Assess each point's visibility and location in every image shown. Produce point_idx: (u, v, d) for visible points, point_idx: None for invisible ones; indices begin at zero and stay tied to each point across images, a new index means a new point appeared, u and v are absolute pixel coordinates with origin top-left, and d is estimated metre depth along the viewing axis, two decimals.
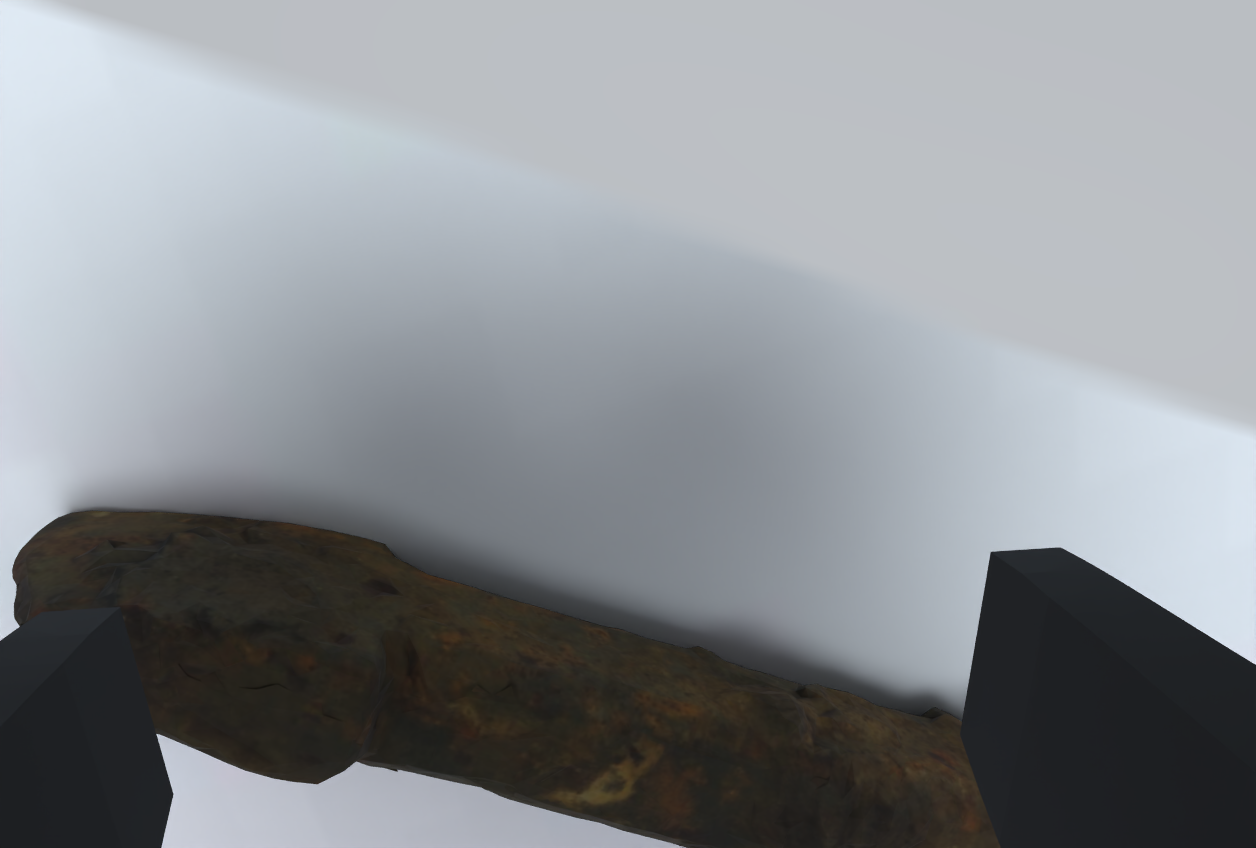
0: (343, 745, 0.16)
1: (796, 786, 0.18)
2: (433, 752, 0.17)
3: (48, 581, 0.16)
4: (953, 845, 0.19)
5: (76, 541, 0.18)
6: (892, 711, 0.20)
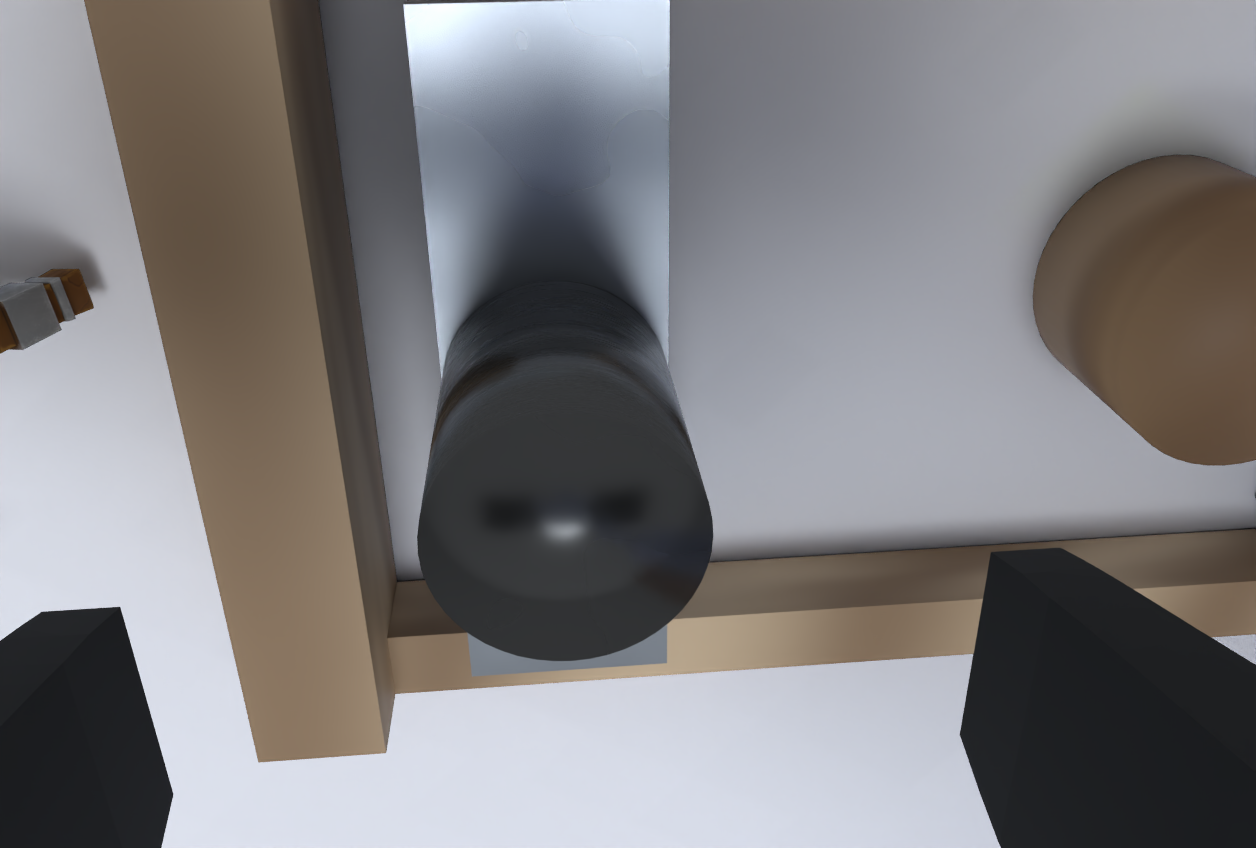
0: None
1: None
2: None
3: None
4: None
5: None
6: None
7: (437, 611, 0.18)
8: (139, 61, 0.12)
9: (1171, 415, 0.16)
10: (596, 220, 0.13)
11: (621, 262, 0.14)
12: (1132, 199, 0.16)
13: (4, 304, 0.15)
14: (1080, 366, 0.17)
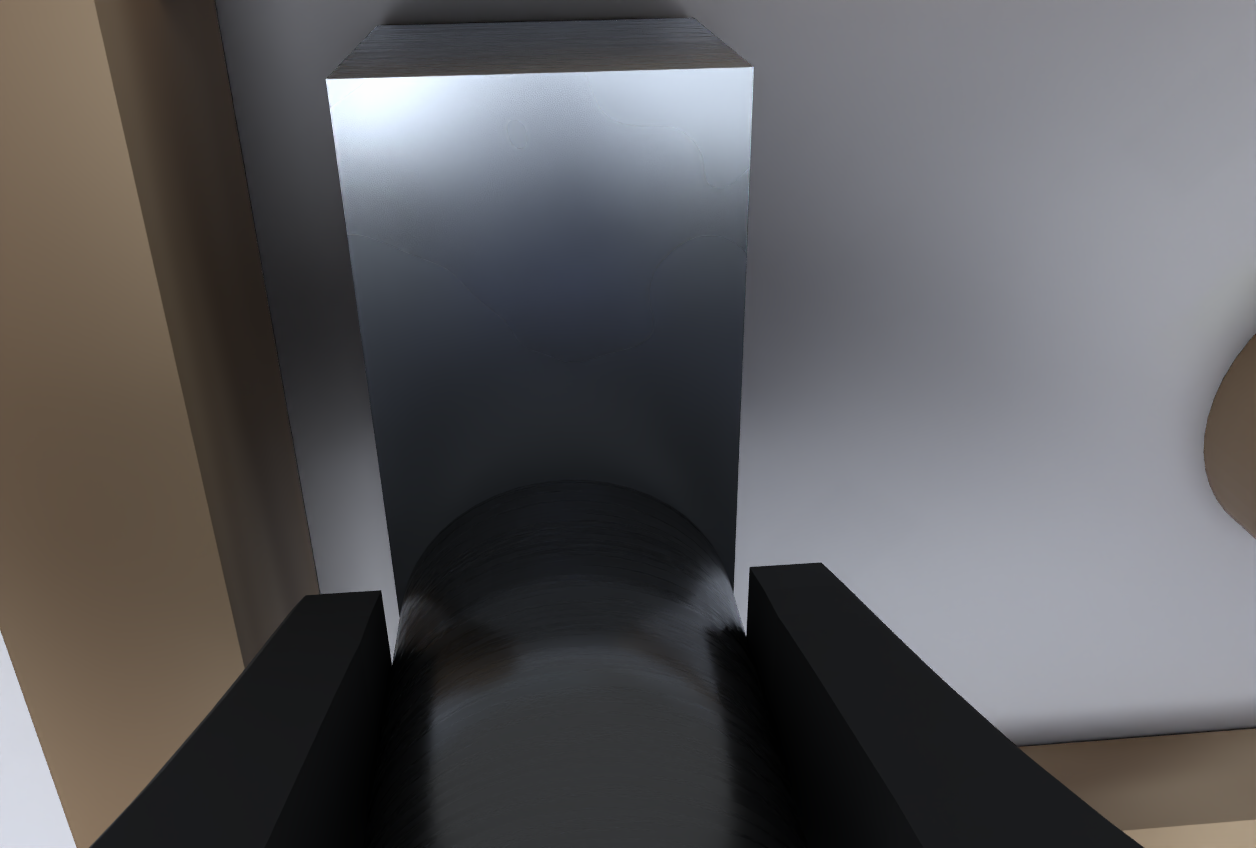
0: None
1: None
2: None
3: None
4: None
5: None
6: None
7: None
8: None
9: None
10: (631, 395, 0.09)
11: (667, 454, 0.09)
12: None
13: None
14: None
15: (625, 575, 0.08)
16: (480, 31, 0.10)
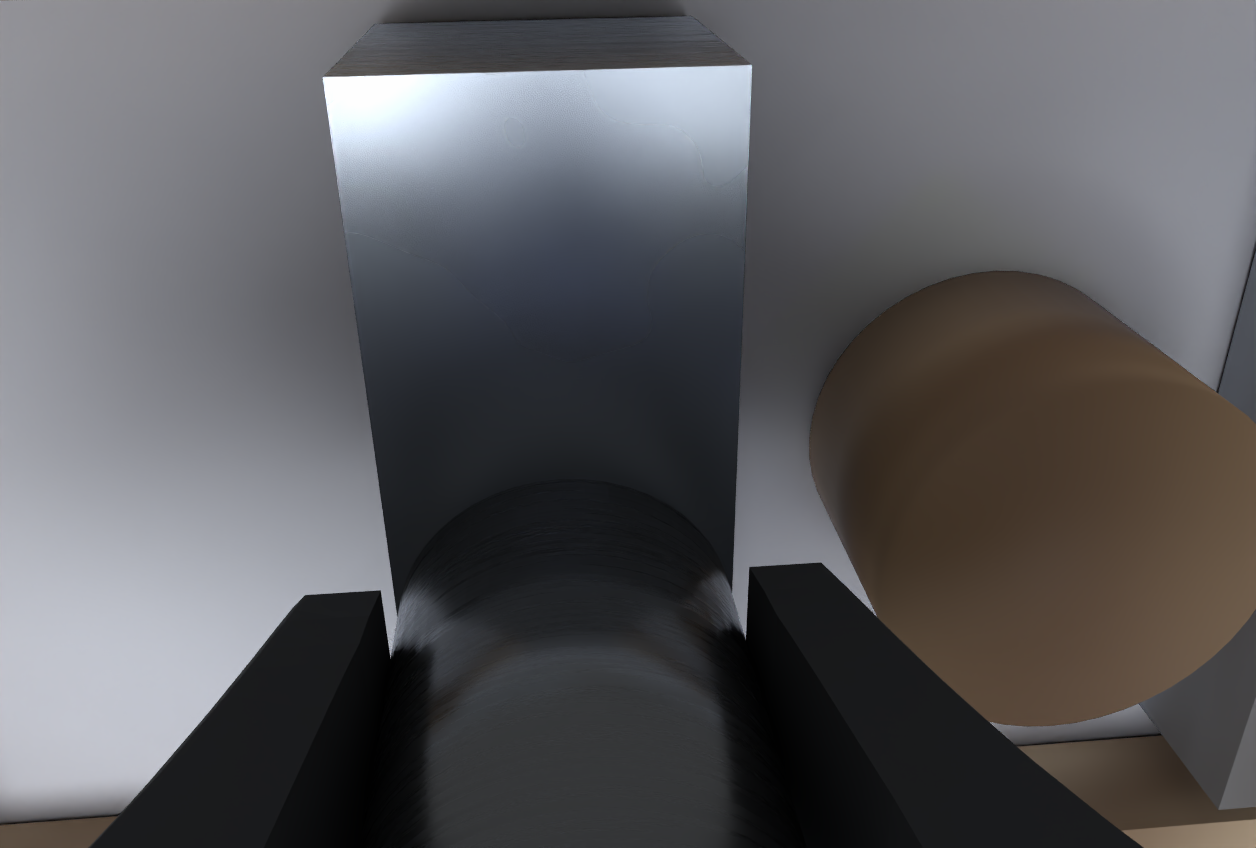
0: None
1: None
2: None
3: None
4: None
5: None
6: None
7: None
8: None
9: (967, 665, 0.11)
10: (629, 394, 0.09)
11: (666, 453, 0.09)
12: (919, 344, 0.11)
13: None
14: None
15: (623, 575, 0.08)
16: (478, 29, 0.10)
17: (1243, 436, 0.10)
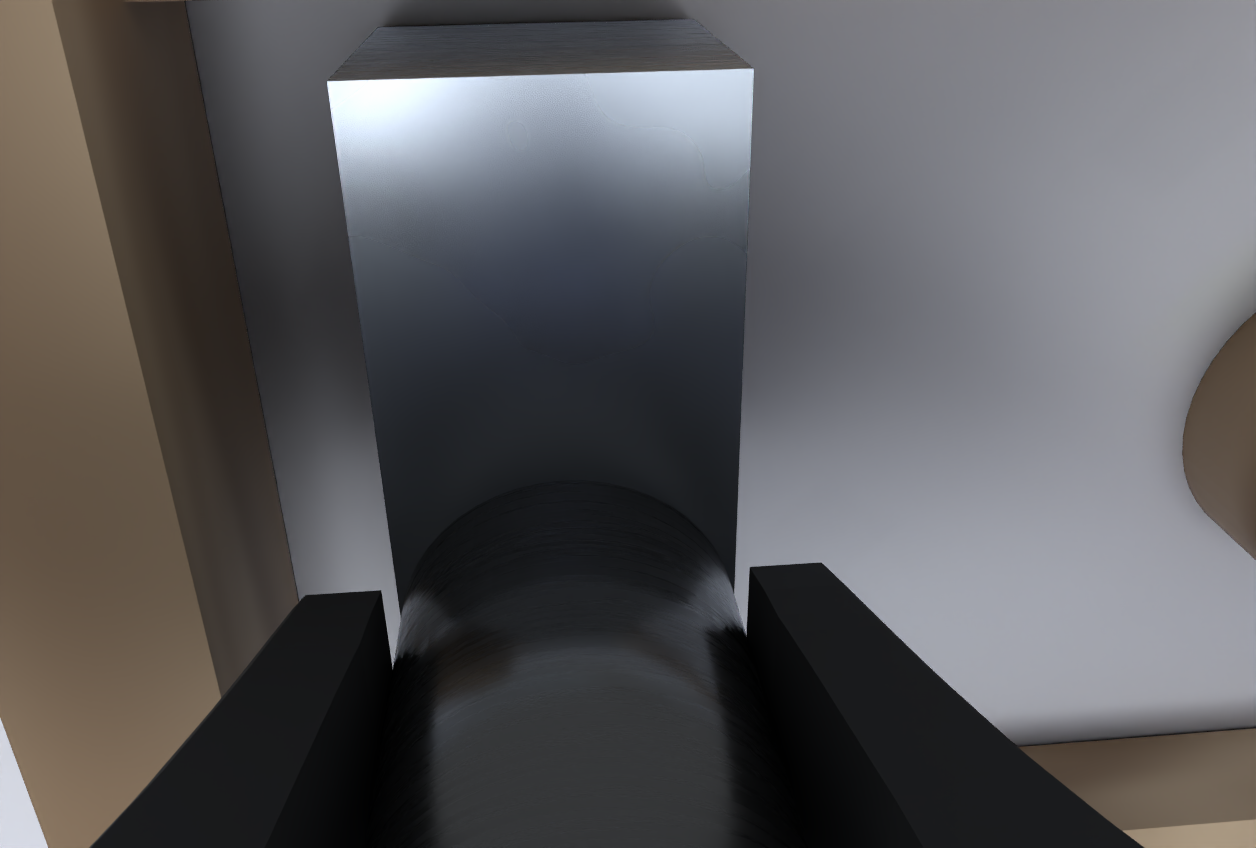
0: None
1: None
2: None
3: None
4: None
5: None
6: None
7: None
8: None
9: None
10: (631, 397, 0.09)
11: (668, 454, 0.09)
12: None
13: None
14: None
15: (626, 576, 0.08)
16: (481, 32, 0.10)
17: None
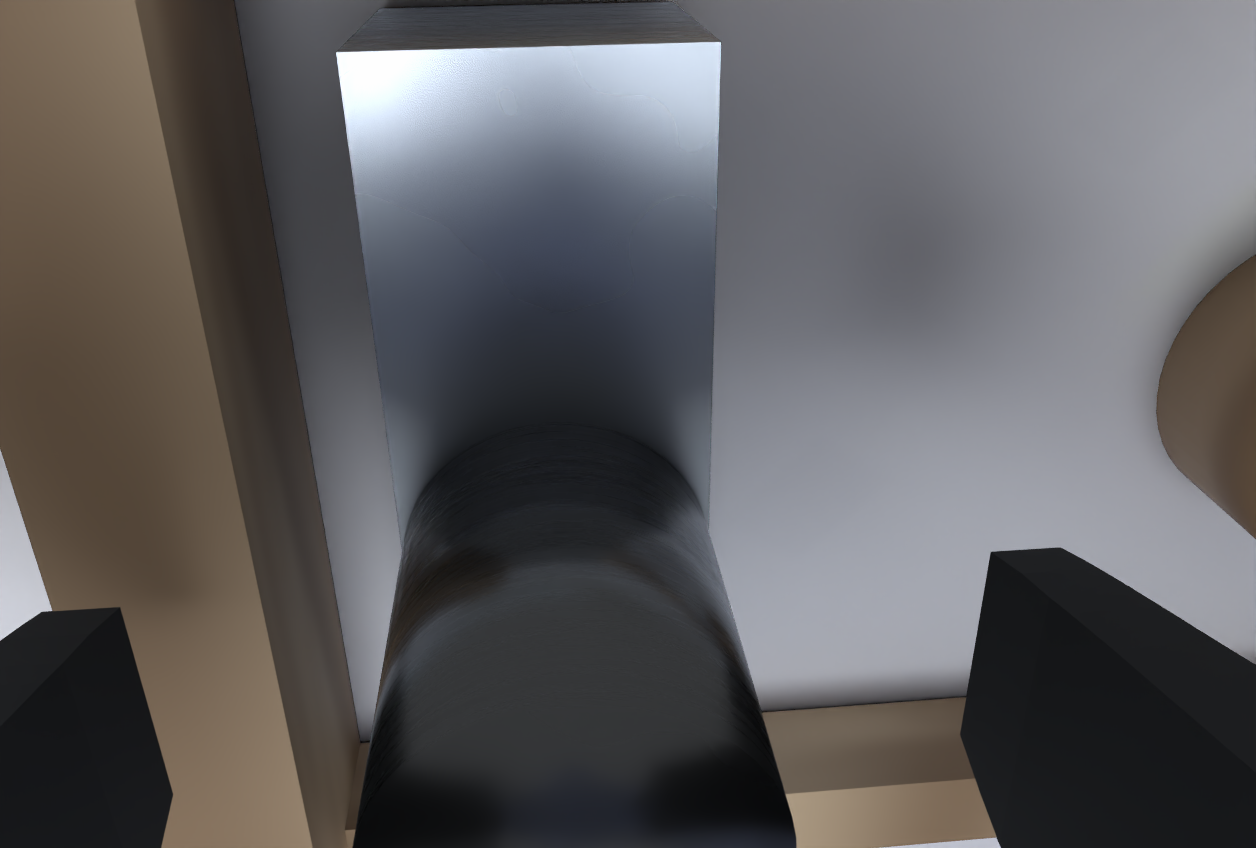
0: None
1: None
2: None
3: None
4: None
5: None
6: None
7: None
8: None
9: None
10: (613, 343, 0.10)
11: (647, 397, 0.10)
12: None
13: None
14: (1229, 496, 0.13)
15: (606, 501, 0.09)
16: (475, 13, 0.10)
17: None
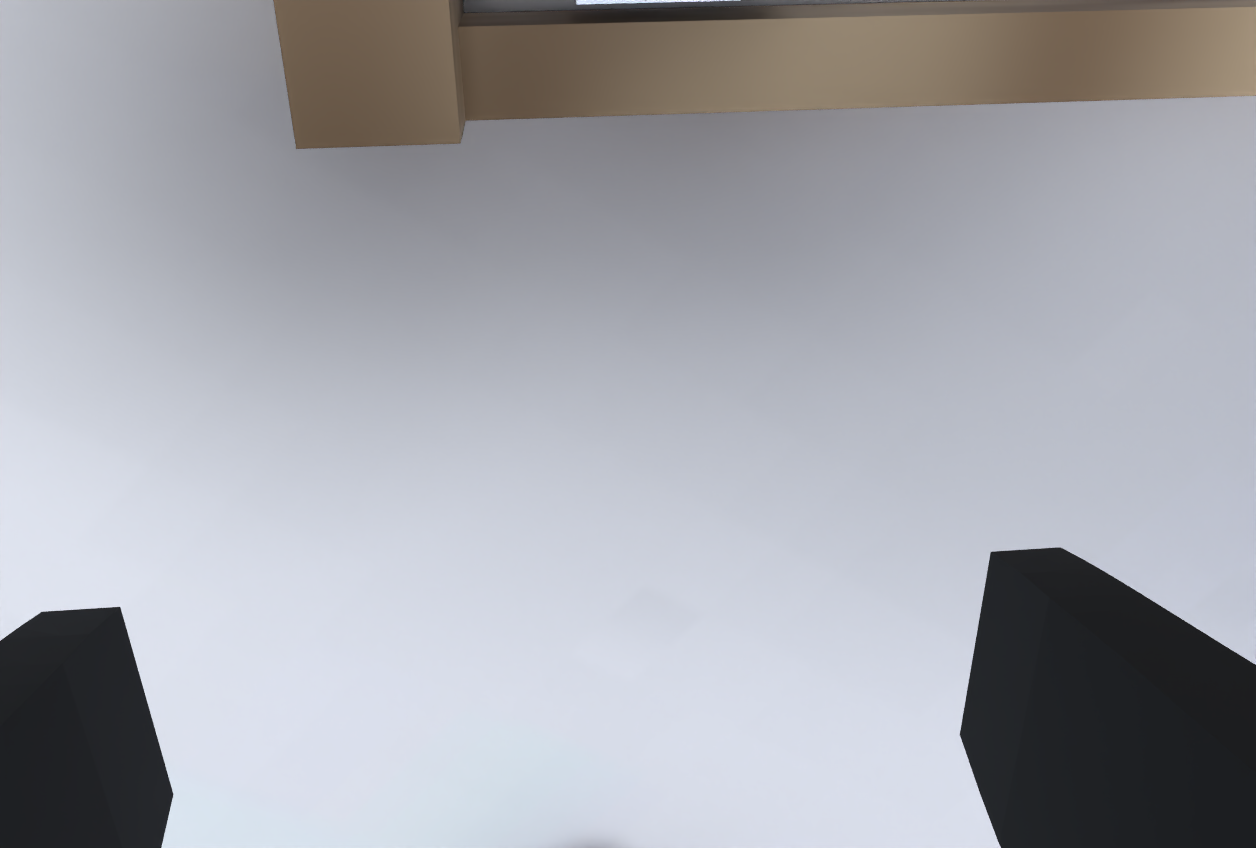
0: None
1: None
2: None
3: None
4: None
5: None
6: None
7: (518, 19, 0.15)
8: None
9: None
10: None
11: None
12: None
13: None
14: None
15: None
16: None
17: None
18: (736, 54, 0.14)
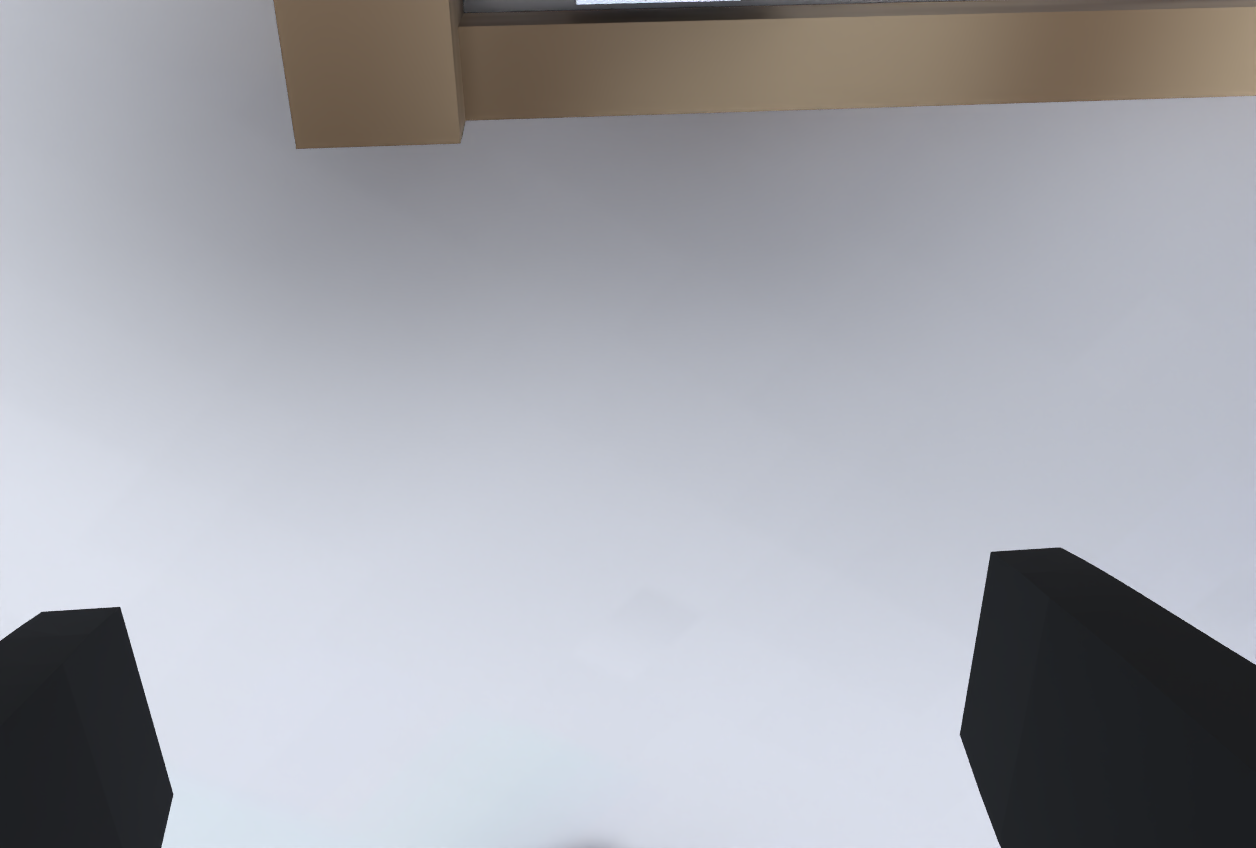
0: None
1: None
2: None
3: None
4: None
5: None
6: None
7: (518, 19, 0.15)
8: None
9: None
10: None
11: None
12: None
13: None
14: None
15: None
16: None
17: None
18: (736, 54, 0.14)
